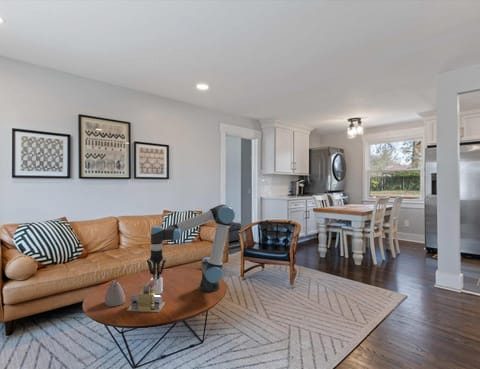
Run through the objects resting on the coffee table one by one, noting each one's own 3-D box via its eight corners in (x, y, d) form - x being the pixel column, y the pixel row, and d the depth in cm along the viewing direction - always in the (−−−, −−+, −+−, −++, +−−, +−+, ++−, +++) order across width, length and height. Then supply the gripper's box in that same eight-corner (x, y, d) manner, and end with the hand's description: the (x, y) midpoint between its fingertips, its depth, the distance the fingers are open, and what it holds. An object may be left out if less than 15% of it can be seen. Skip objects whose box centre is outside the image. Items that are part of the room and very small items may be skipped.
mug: (147, 297, 193) (147, 282, 192) (143, 293, 199) (143, 279, 199) (164, 293, 200) (164, 279, 199) (160, 289, 206) (160, 275, 206)
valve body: (164, 303, 184) (165, 288, 183) (158, 312, 172) (158, 296, 171) (135, 302, 185) (135, 287, 185) (127, 310, 173) (127, 295, 173)
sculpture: (101, 307, 177) (101, 284, 177) (108, 299, 189) (108, 277, 189) (122, 306, 178) (122, 283, 178) (128, 298, 190) (128, 277, 190)
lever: (148, 292, 176) (148, 288, 176) (142, 292, 176) (142, 288, 176) (157, 283, 191) (157, 279, 191) (151, 283, 191) (151, 279, 191)
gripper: (167, 248, 190) (167, 282, 190) (148, 247, 190) (148, 282, 190) (164, 251, 182) (164, 286, 183) (145, 250, 182) (144, 286, 183)
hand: (156, 284), depth 186 cm, fingers closed
